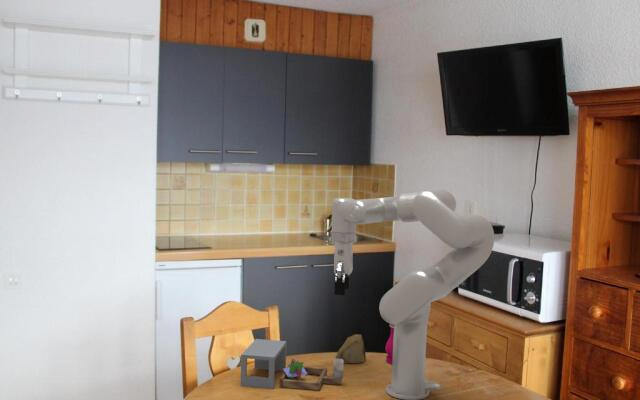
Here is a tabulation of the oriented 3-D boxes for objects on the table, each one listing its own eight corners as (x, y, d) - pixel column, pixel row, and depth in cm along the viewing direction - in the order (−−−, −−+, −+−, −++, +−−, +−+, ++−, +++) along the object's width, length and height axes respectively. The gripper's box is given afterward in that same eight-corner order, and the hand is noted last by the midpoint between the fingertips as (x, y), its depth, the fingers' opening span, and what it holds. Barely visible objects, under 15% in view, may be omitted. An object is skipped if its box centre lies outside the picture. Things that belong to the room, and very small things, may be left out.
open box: (285, 370, 216) (286, 341, 215) (273, 388, 199) (274, 357, 199) (255, 367, 218) (255, 338, 217) (240, 385, 201) (241, 354, 200)
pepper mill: (405, 366, 224) (407, 306, 222) (383, 364, 225) (386, 305, 223) (407, 359, 231) (409, 302, 229) (386, 357, 232) (388, 300, 230)
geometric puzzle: (313, 378, 203) (306, 353, 207) (292, 381, 200) (286, 356, 203) (304, 386, 208) (297, 361, 212) (283, 389, 205) (277, 364, 209)
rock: (331, 359, 222) (361, 357, 219) (332, 334, 226) (361, 333, 224) (338, 370, 230) (367, 369, 228) (339, 346, 235) (367, 345, 233)
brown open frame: (345, 376, 211) (346, 353, 211) (339, 391, 198) (340, 367, 197) (289, 371, 214) (289, 349, 214) (279, 386, 200) (280, 362, 200)
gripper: (352, 241, 202) (350, 298, 204) (358, 234, 219) (356, 286, 221) (327, 240, 203) (325, 296, 205) (335, 233, 220) (333, 285, 222)
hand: (341, 291), depth 213 cm, fingers open, 9 cm apart
